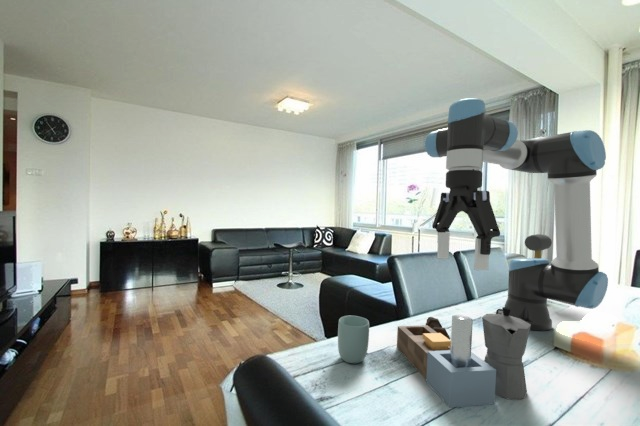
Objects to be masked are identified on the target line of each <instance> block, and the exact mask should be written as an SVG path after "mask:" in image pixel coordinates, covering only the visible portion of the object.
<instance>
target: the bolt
mask: <svg viewBox="0 0 640 426" xmlns="http://www.w3.org/2000/svg"><path fill="white" fill-rule="evenodd" d="M425 325H428V326H429V327H430V328H432V329H433V330H434V331H436V332H437V333H441V334H443V335H444V336H445V337H447V338H448V339H449V340H451V336H450V335H449V333H448V332H447V330H446V328H445V327H443V326H442V323H441V322H440V320H439V319H438V318H435V317H433V316H429V317H427V318H426V322H425Z"/></svg>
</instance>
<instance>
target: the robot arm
mask: <svg viewBox="0 0 640 426" xmlns="http://www.w3.org/2000/svg"><path fill="white" fill-rule="evenodd" d="M486 112H487V109H486V103H485V102H484V100H483V99H480V98H472V97H471V98H463V99H460V100H459V99H458V100H457V101H455V102H453V103H452V104H450V106H449V107H448V115H447V116H448V117H447V118H448V119H447V121H446V123H447V127H446V128H442V129H441V128H440V129H437V130H434V131H431V132H430V133H428V134H427V135H426V136H425V139H424V149H425V152H426V154H427V155H428V156H429V157H431V158H442V157H446V158H445V160H446V162H445V169H446V170H448V171H446V173H445V187H446V188H448V189H449V192H441V193H440V200H439V204H438V207H437V210H436V214H435V216H434V219H433V222H432V226H431V227H432V229H435V230H436V232H437V254H436V256H437V257H436V258H437V259H447V260H448V259H450V236H451V235H450V234H451V233H450V232H451V230H450V227H451V225H452V223H454V221H455V219H456V217H457V215H458V214H459V213H461V212H464V213H465V214H467V216H468V218H469V220H470V222H471V224H472V226H473V228H474V230H475V231H476V234H477V235H476V237H475V240H474V241H475V242H474V243H475V245H474V266H473V267H474V268H473V269H474V270H475V271H489V261H490V260H489V259H490V255H491V247H492V239H493V238H496V237H500V235H501V231H500V228H499V225H498V221H497V219H496V216H495V213H494V209H493V207H492V204H491V195H490V191H489V190H478V189H480V188H481V187H482V186H483V172H482V170H481V169H482V168H483V167H484V166H483V163H488V164H494V165H499V166H500V167H501V168H502V169H505V170H510V171H517V172H522V173H528V174H546V173H547V180H548V181H550V182H551V183H552V184H553V195H554V196H553V197H554V220H555V221H554V222H555V223H554V224H555V248H556V249H555V250H556V251H555V253H556V257H554V258H553V259H552V260H551V261H550V259H547V258H541V259H538V258H534V257H533V258H532V257H531V258H530V257H529V258H525V257H524V258H513V259H511V260H510V261H509V266H508V267H509V268H508V283H507V284H508V285H507V299H506V301H505V303H504V306H503V307H508V308H510V309H511V311H510V314H509V316H513V317H516V318H520V319H522V320H524V321H525V322H527V323H529V324H531V327H530V331H531V330H532V331H540V332H541V331H542V332H544V331H545V330H546V331H551V330H552V329H551V328H552V327H553V320H552V319H551V316H550V311H549V308H548V304H547V303H548V300H551V301H554V302H560V303H563V304H566V305H567V304H568V305H570V306H574V307H577V308H578V307H579V308H584V309H590V310H591V309H596V308H597V307H598V306H599V305H601V303H602V302H603V300H604V298H605V297H606V293H607V290H608V285H609V278H608V275H607V274H606V273H605V272H603V271H600V270H599V263H598V262H596V261H595V260H594V259H593V254H592V216H591V212H592V211H591V210H592V209H591V208H592V207H591V181H592V180H594V178H595V177H597V171H598V170H601V169H603V168H604V166H605V165H606V158H607V154H606V147H605V145H604V141H603V139H602V138H601V136H600V135H599V133H597V132H596V131H594V130H592V129H591V130H588V129H586V130H575V131H574V130H573V131H570V132H563V133H559V134H551V135H547V136H546V135H544V136H541V137H533V138H528V139H522V140H521V139H520V140H519V139H518V136H519V131H518V128H517V126H516V124H514V123H513V122H511V121H509V120H507V119H506V118H500V117H497V116H494V115H493V116H492V115H489V114H488V113H487V114H486Z"/></svg>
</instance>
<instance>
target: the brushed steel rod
mask: <svg viewBox="0 0 640 426" xmlns="http://www.w3.org/2000/svg"><path fill="white" fill-rule="evenodd" d="M473 323H474V322H473V318H472V317H470V316H467V315H463V314H461V315H460V314H454V315H453V314H452V316H451V330H450V331H451V334H450V335H451V336H450V340H451V349H450V363H451V364H452V365H453V366H454V367H455V368H464V367H470V364H471V352H472V342H473V341H472V339H473V338H472V337H473V325H474V324H473Z"/></svg>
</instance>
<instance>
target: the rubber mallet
mask: <svg viewBox="0 0 640 426" xmlns="http://www.w3.org/2000/svg"><path fill="white" fill-rule="evenodd" d="M524 240H525V241H524V246H525V247H526V248H527V249H528V250H529V251H532V252H533V251H534V255H533V256H534V257H533V258H538V259H542V251H544V250H548V249H549V248H551V246H552V239H551V238H550V237H549V236H548V235H546V234H538V233H537V234H531V235H528V236H527V237H526V238H525V239H524Z"/></svg>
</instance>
